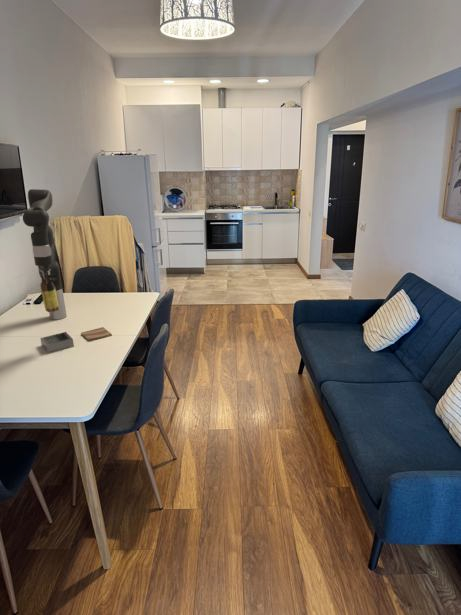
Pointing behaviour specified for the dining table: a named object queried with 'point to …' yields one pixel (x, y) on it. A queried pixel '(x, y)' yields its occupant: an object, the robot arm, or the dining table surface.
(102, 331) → the walnut board
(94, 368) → the dining table surface
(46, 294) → the sauce bottle
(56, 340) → the grey shallow box
